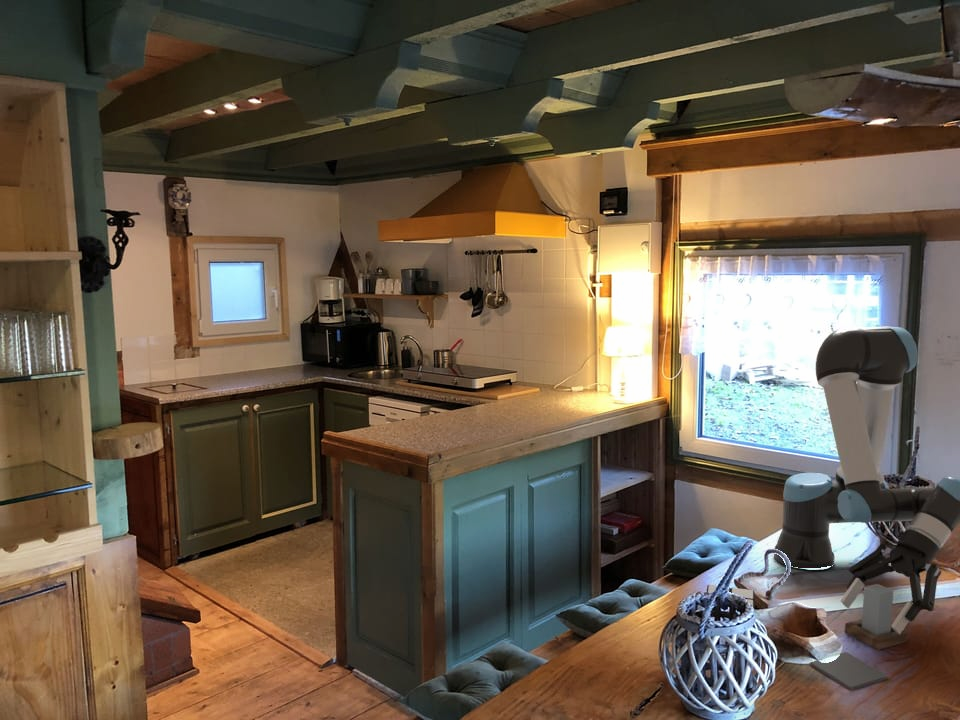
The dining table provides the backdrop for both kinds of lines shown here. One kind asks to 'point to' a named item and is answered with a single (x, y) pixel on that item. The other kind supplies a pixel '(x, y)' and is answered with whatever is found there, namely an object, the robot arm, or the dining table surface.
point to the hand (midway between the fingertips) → (868, 617)
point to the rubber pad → (850, 671)
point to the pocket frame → (873, 640)
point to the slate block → (877, 609)
